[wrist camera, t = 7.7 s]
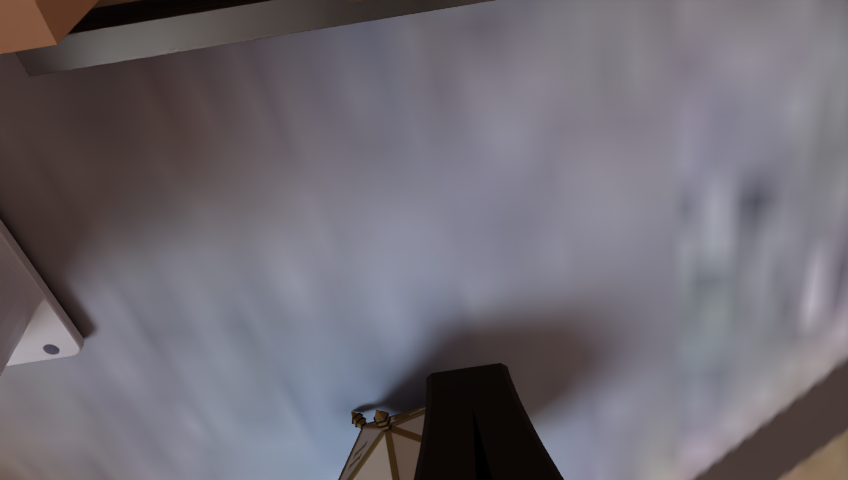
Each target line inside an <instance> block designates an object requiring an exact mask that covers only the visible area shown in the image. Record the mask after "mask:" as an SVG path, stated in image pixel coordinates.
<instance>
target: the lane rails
mask: <svg viewBox="0 0 848 480" xmlns="http://www.w3.org/2000/svg"><path fill="white" fill-rule="evenodd" d="M487 1H494V0H362V1H356V2H350V3H349V1H348V0H139V1H133V2H127V3H121V4H115V5H109V6H103V7H97V8H91V9H90V10H89V11H88V13H87V14H86V15H85V16H84V17H83V18H82V19H81V20H80V21H79V22H78V23H77V24H76V25H75V26H74V27H73V28H72V29H71V31H70V32H69V33H68V34H67V35H66V36H65V37H64V38H63V39H62V40H61V41H60V42H59V43H58V44H57V45H52V46H46V47H40V48H34V49H28V50H22V51H16V54H17V56H18V58H19V59H20V61H21V63H22V65H23V66H24V68H25V70H26V72H27V74H28V75H29V77H30V76H36V75H42V74H48V73H54V72H60V71H66V70H73V69H79V68H85V67H91V66H97V65H103V64H109V63H115V62H121V61H127V60H134V59H140V58H146V57H152V56H158V55H164V54H170V53H176V52H182V51H188V50H195V49H201V48H207V47H213V46H219V45H225V44H231V43H237V42H243V41H249V40H256V39H262V38H268V37H274V36H280V35H286V34H292V33H298V32H304V31H311V30H317V29H323V28H329V27H335V26H341V25H347V24H353V23H359V22H365V21H372V20H378V19H384V18H390V17H396V16H402V15H408V14H414V13H420V12H426V11H433V10H439V9H445V8H451V7H457V6H463V5H469V4H475V3H481V2H487Z"/></svg>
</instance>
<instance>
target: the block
mask: <svg viewBox="0 0 848 480" xmlns="http://www.w3.org/2000/svg"><path fill="white" fill-rule="evenodd" d="M98 1H99V0H0V54H4V53H10V52H16V51H22V50H28V49H34V48H40V47H46V46H52V45H57V44H58V43H59V42H60V41H61V40H62V39H63V38H64V37H65V36H66V35H67V34H68V33H69V32H70V31H71V29H72V28H73V27H74V26H75V25H76V24H77V23H78V22H79V21H80V20H81V19H82V18H83V17H84V16H85V15H86V14H87V13H88V11H89V10H90V9H91V8H92V7H93V6H94V5H95V4H96V3H97V2H98Z"/></svg>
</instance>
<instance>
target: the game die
mask: <svg viewBox="0 0 848 480" xmlns="http://www.w3.org/2000/svg"><path fill="white" fill-rule="evenodd" d="M425 407H426V405H425V406H422V407H419V408H416V409H412V410H409V411H406V412H403V413H399V414H396V415H393V416H390V417H389V416H388V415H389V413H387V412H383V411H379V410H376V414H375V417H374V420H375V421H373V422H370V423H367V422H366V418H364V417H363V414H361V413H355V412H351V413H352V424H355V427H356V428H357V427H358V428H360V429H361V431H360V433H359V435H358V437H357V440H356V442H355V444H354V446H353V448H352V451H351V453H350V455H349V457H348V459H347V462H346V464H345V466H344V468H343V470H342V473H341V475H340V477H339V479H338V480H413V479H414V475H415V470H416V465H417V460H418V455H419V450H420V444H421V438H422V431H423V425H424V417H425Z"/></svg>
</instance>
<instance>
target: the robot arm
mask: <svg viewBox="0 0 848 480" xmlns="http://www.w3.org/2000/svg"><path fill="white" fill-rule="evenodd" d="M54 345H55V346H54ZM83 345H84V339H83V337H82V336H81V334H80V333H79V332H78V330H77V329H76V327H75V326H74V324H73V323H72V321H71V320H70V319H69V317H68V316H67V314H66V313H65V311H64V310H63V309H62V307H61V306H60V304H59V303H58V301H57V300H56V298H55V297H54V296H53V294H52V293H51V291H50V290H49V288H48V287H47V286H46V284H45V283H44V281H43V280H42V278H41V277H40V275H39V274H38V273H37V271H36V270H35V268H34V267H33V265H32V264H31V263H30V261H29V260H28V258H27V257H26V255H25V254H24V252H23V251H22V250H21V248H20V247H19V245H18V244H17V242H16V241H15V240H14V238H13V237H12V235H11V234H10V232H9V231H8V229H7V228H6V227H5V225H4V224H3V222H2V221H1V219H0V376H1V374H2V372H3V370H4V368H5V367H6V366H9V365H15V364H22V363H29V362H35V361H42V360H48V359H55V358H62V357H68V356H74V355H77V354H78V353H80V352H81V350H82V347H83ZM413 480H564V479H563V477H562V476H561V474H560V472H559V471H558V469H557V467H556V466H555V464H554V462H553V461H552V459H551V457H550V456H549V454H548V452H547V450H546V449H545V447H544V445H543V444H542V442H541V440H540V438H539V436H538V435H537V433H536V431H535V429H534V427H533V425H532V423H531V421H530V419H529V417H528V415H527V413H526V411H525V409H524V407H523V405H522V403H521V401H520V399H519V396H518V394H517V392H516V389H515V387H514V384H513V382H512V379H511V377H510V374H509V371H508V368H507V366H505V365H503V364H501V363H497V364H491V365H484V366H477V367H470V368H464V369H457V370H450V371H443V372H437V373H432V374H431V375H429V376H428V377H427V378H426V407H425V417H424V425H423V431H422V438H421V444H420V450H419V455H418V460H417V465H416V470H415V475H414V479H413Z"/></svg>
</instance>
